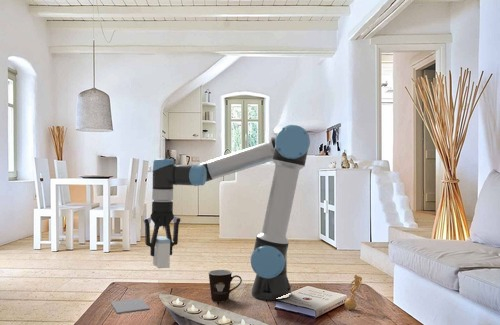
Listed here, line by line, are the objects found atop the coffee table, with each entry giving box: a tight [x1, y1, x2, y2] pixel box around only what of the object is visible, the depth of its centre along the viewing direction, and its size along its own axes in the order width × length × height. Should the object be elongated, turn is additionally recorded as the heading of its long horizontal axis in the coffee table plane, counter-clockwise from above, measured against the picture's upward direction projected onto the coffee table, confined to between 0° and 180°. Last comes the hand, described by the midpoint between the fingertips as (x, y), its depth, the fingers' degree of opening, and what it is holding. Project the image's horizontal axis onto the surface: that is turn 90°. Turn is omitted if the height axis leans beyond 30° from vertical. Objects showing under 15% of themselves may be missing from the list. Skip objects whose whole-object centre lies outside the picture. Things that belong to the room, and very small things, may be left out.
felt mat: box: [110, 298, 150, 314], centre depth 164 cm, size 11×13×1 cm
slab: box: [155, 235, 171, 269], centre depth 171 cm, size 4×9×10 cm, turn 24°
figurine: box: [344, 274, 363, 311], centre depth 161 cm, size 8×6×12 cm
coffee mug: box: [208, 269, 243, 303], centre depth 172 cm, size 12×9×10 cm
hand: (161, 264), depth 171 cm, fingers closed on slab, 4 cm apart
